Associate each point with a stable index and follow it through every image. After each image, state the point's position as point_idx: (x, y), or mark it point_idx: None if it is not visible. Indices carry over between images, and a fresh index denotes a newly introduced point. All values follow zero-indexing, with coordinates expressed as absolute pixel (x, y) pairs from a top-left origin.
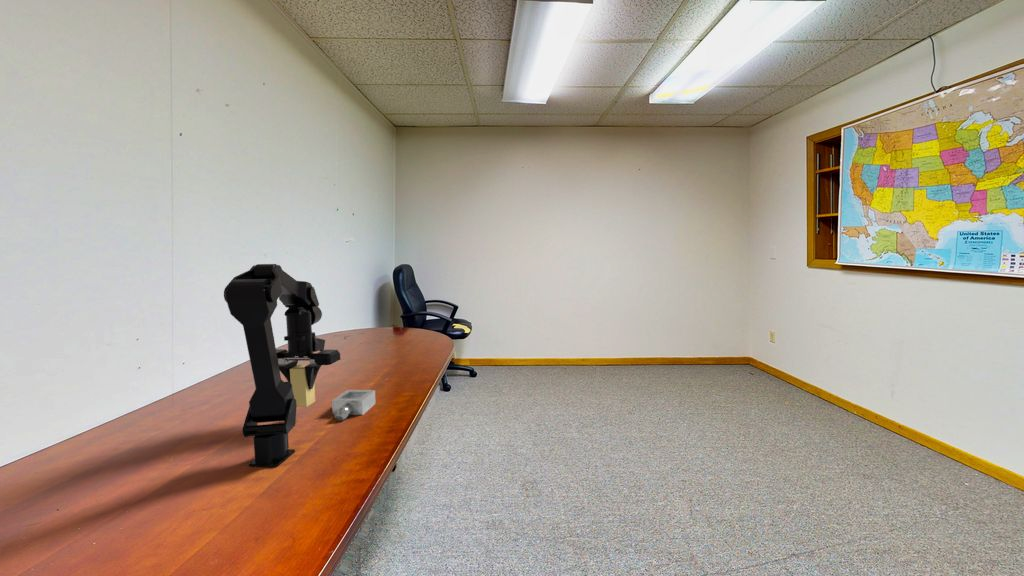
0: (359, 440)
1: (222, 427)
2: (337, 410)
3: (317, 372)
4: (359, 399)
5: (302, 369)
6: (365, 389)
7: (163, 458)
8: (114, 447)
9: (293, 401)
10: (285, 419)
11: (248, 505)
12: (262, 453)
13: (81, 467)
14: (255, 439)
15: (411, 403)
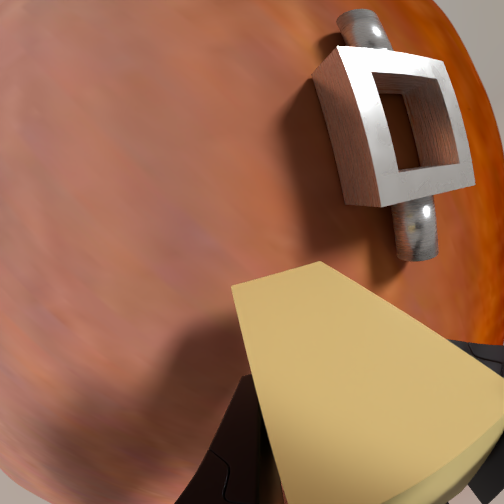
0: (473, 320)
1: (56, 394)
2: (422, 259)
3: (496, 352)
4: (464, 173)
5: (444, 501)
6: (368, 15)
7: (136, 492)
8: (23, 460)
9: None
10: None
11: None
12: None
13: (71, 498)
14: None
15: (471, 80)
